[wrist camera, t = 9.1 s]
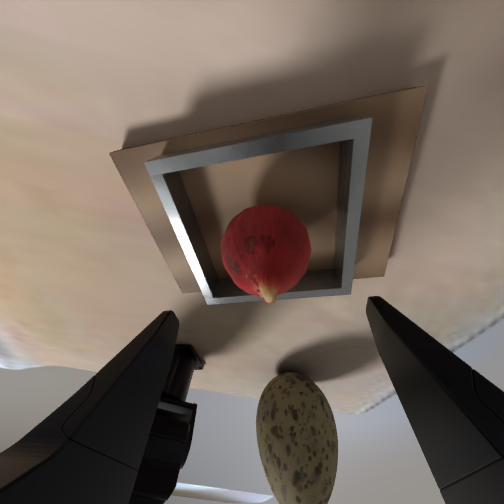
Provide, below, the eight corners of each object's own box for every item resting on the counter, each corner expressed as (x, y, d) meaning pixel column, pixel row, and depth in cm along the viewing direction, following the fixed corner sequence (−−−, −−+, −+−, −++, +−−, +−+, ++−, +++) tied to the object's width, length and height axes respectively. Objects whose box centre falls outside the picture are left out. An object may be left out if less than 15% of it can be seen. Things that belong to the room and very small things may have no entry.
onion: (220, 238, 18) (193, 313, 11) (246, 175, 15) (230, 228, 8) (280, 262, 19) (287, 343, 12) (316, 208, 16) (351, 278, 9)
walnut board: (377, 266, 20) (383, 276, 19) (186, 283, 24) (182, 293, 22) (413, 87, 13) (428, 85, 11) (121, 149, 16) (108, 153, 15)
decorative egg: (305, 394, 38) (322, 531, 26) (249, 381, 37) (239, 520, 24) (338, 367, 32) (380, 530, 20) (272, 351, 31) (275, 515, 18)
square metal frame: (342, 274, 19) (350, 294, 17) (213, 285, 21) (207, 304, 19) (355, 115, 12) (372, 117, 10) (161, 154, 14) (143, 162, 12)
